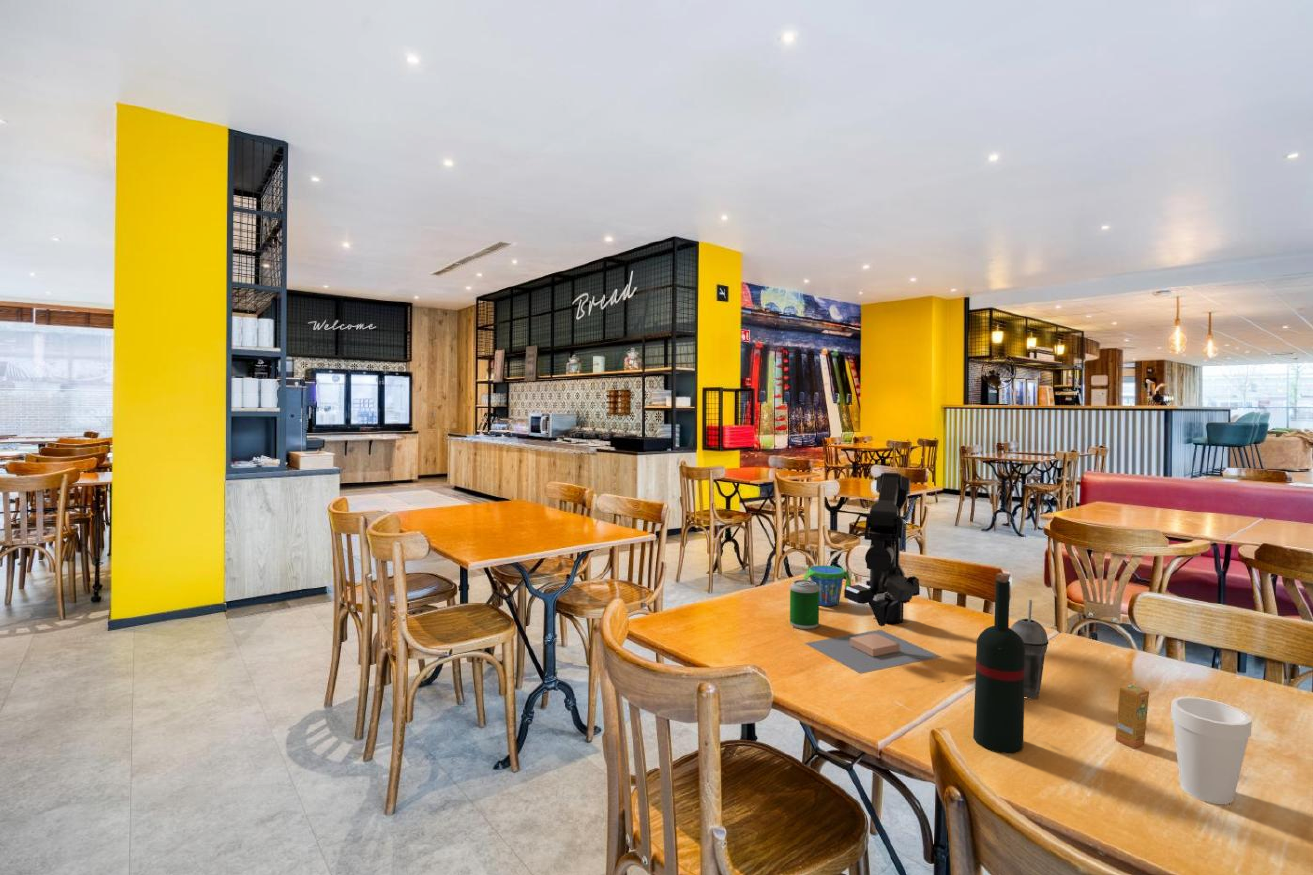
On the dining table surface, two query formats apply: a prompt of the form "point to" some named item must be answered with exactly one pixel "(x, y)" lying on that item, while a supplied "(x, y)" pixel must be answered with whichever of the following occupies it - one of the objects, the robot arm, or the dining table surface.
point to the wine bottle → (1000, 680)
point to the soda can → (804, 604)
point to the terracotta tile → (874, 644)
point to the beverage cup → (1032, 652)
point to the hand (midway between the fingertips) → (881, 625)
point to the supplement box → (1132, 715)
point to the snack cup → (828, 583)
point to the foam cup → (1209, 747)
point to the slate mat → (867, 663)
